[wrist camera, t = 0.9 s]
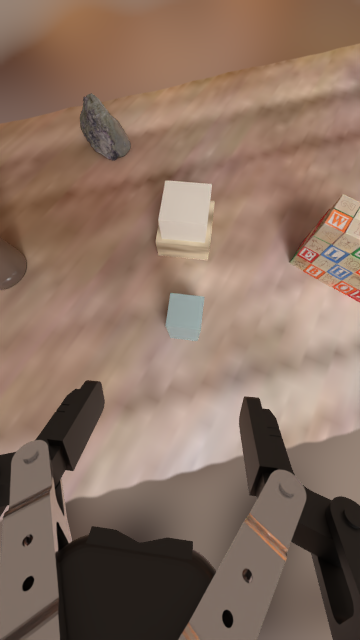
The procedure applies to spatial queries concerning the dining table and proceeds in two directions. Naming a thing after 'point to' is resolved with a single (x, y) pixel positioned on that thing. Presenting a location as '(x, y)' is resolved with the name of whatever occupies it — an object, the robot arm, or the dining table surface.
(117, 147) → the mineral rock
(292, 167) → the dining table surface
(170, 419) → the dining table surface
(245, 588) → the robot arm
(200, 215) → the tower top slab
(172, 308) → the pillar block
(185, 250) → the tower bottom slab
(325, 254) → the stack of blocks
